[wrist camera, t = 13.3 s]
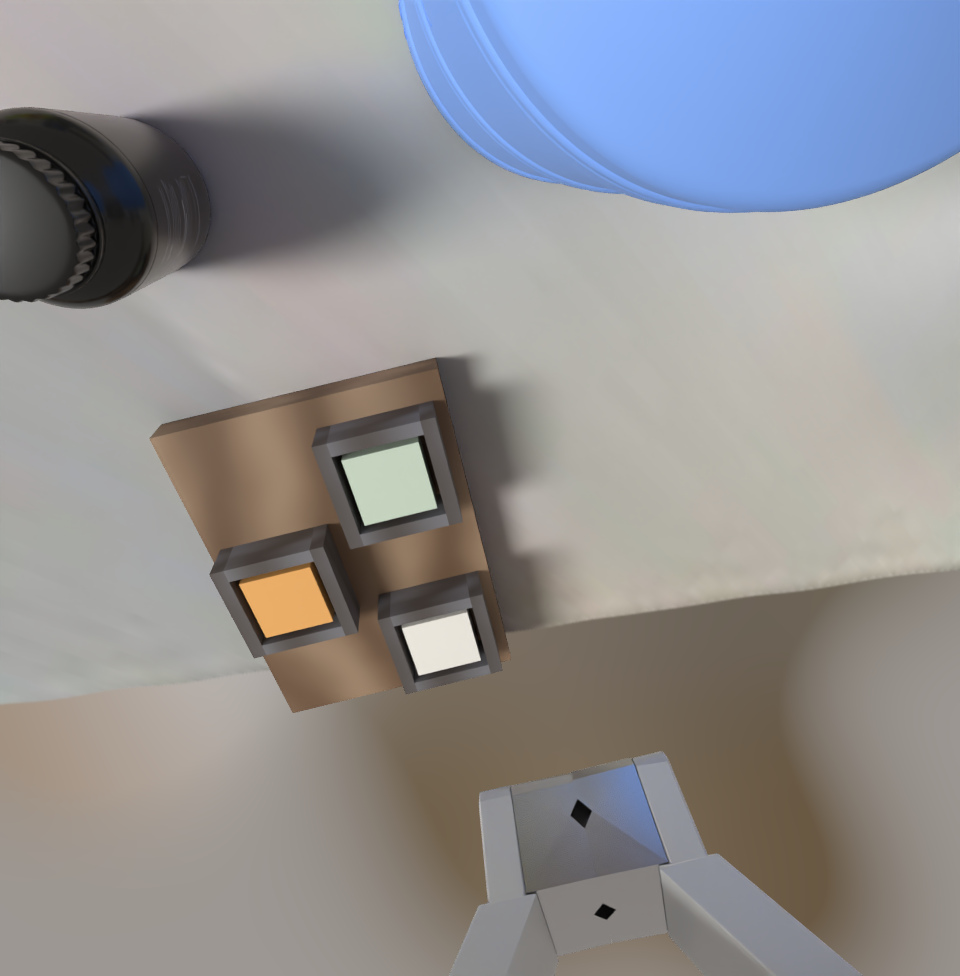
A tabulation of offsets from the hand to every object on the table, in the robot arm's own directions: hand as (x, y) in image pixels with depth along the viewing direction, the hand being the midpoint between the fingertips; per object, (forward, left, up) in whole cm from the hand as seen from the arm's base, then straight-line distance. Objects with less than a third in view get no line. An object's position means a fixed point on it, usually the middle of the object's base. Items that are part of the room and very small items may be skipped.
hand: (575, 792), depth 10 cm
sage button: (+5, +6, -26) cm, 27 cm away
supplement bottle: (+13, -10, -29) cm, 33 cm away
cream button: (+5, +18, -26) cm, 32 cm away
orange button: (+13, +12, -26) cm, 32 cm away
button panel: (+9, +12, -28) cm, 32 cm away
